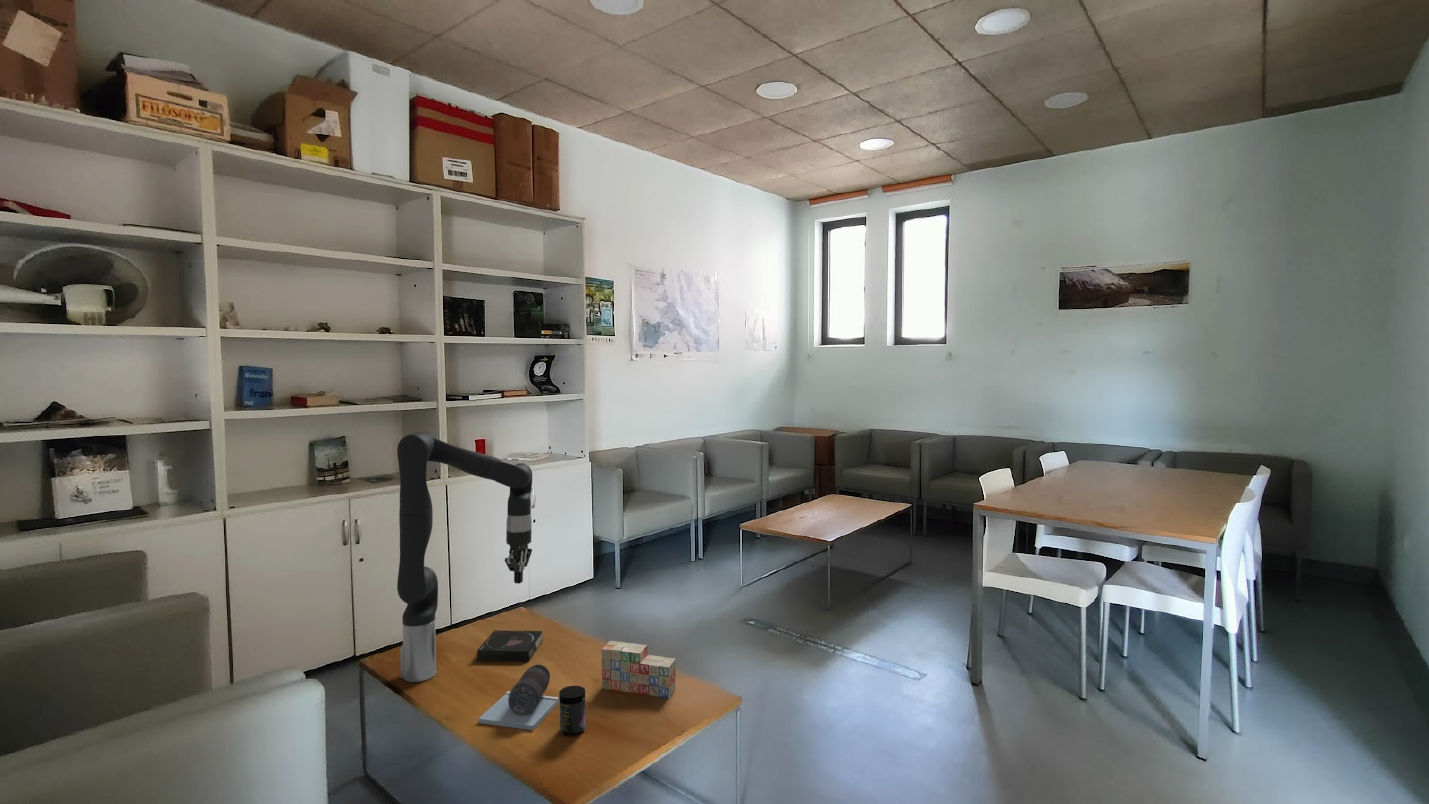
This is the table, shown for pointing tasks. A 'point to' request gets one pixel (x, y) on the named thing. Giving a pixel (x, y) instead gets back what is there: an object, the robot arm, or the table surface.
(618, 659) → the stack of blocks
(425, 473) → the robot arm
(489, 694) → the table surface
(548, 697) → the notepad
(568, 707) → the supplement container
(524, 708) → the camera lens
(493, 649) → the portable cd player
